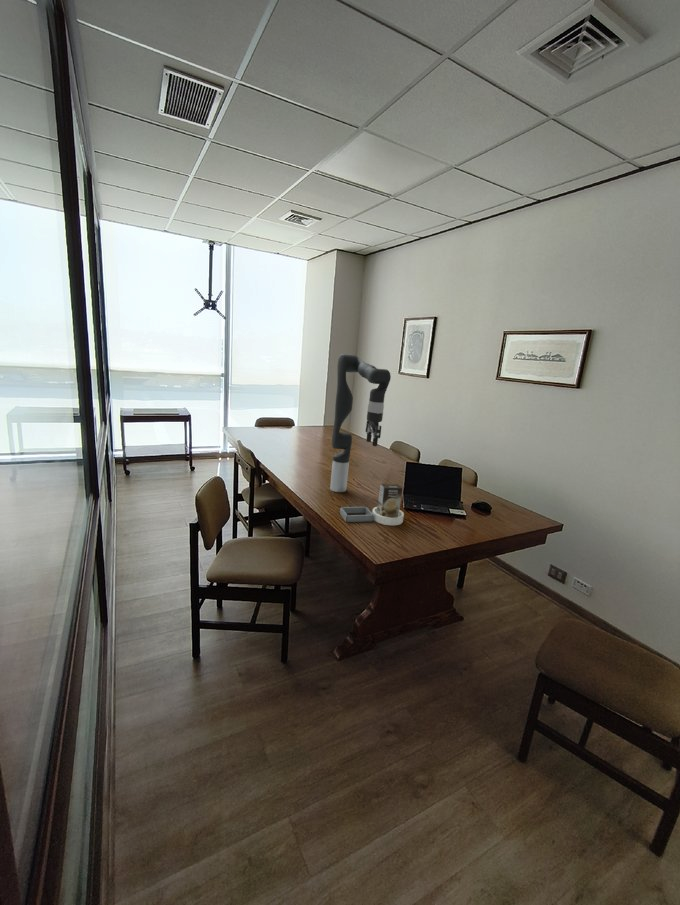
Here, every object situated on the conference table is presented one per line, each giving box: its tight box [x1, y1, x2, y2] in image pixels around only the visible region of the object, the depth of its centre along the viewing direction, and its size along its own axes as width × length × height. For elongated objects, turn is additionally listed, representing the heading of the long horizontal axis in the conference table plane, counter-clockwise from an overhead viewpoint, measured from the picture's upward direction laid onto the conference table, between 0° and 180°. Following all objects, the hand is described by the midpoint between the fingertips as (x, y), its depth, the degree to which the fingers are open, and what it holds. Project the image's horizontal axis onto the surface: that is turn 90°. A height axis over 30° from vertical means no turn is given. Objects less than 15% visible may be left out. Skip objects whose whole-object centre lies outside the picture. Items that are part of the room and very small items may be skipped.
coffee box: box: [376, 483, 403, 518], centre depth 193 cm, size 9×6×16 cm
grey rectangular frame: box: [339, 506, 374, 523], centre depth 193 cm, size 11×14×3 cm
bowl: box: [371, 506, 405, 526], centre depth 194 cm, size 15×15×4 cm
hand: (371, 443), depth 196 cm, fingers open, 8 cm apart
